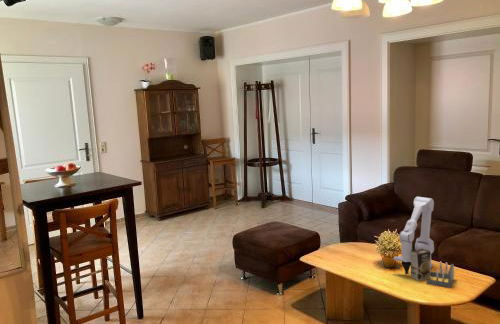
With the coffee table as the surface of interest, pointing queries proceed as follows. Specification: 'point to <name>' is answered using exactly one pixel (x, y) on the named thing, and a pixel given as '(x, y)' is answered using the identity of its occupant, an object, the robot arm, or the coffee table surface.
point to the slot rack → (442, 275)
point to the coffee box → (420, 264)
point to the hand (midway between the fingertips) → (406, 273)
